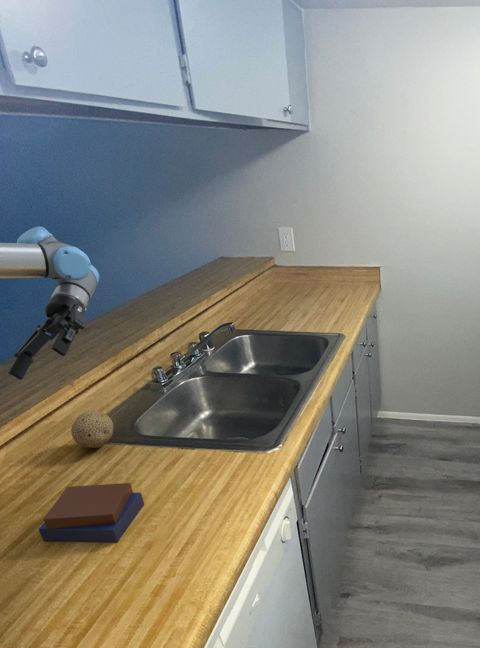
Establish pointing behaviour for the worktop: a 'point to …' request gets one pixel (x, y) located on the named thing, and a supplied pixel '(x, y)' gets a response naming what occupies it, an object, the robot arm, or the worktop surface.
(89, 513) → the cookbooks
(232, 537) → the worktop surface
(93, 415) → the natural sponge
